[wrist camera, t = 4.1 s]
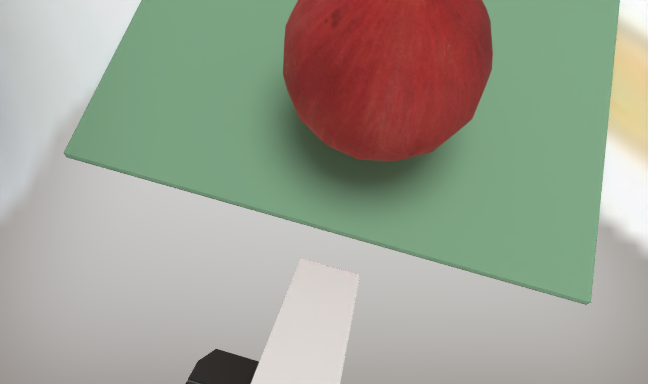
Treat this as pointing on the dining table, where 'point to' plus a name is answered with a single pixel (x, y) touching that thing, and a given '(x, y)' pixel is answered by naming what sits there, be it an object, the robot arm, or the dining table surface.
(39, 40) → the dining table surface
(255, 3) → the felt mat
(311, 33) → the onion
